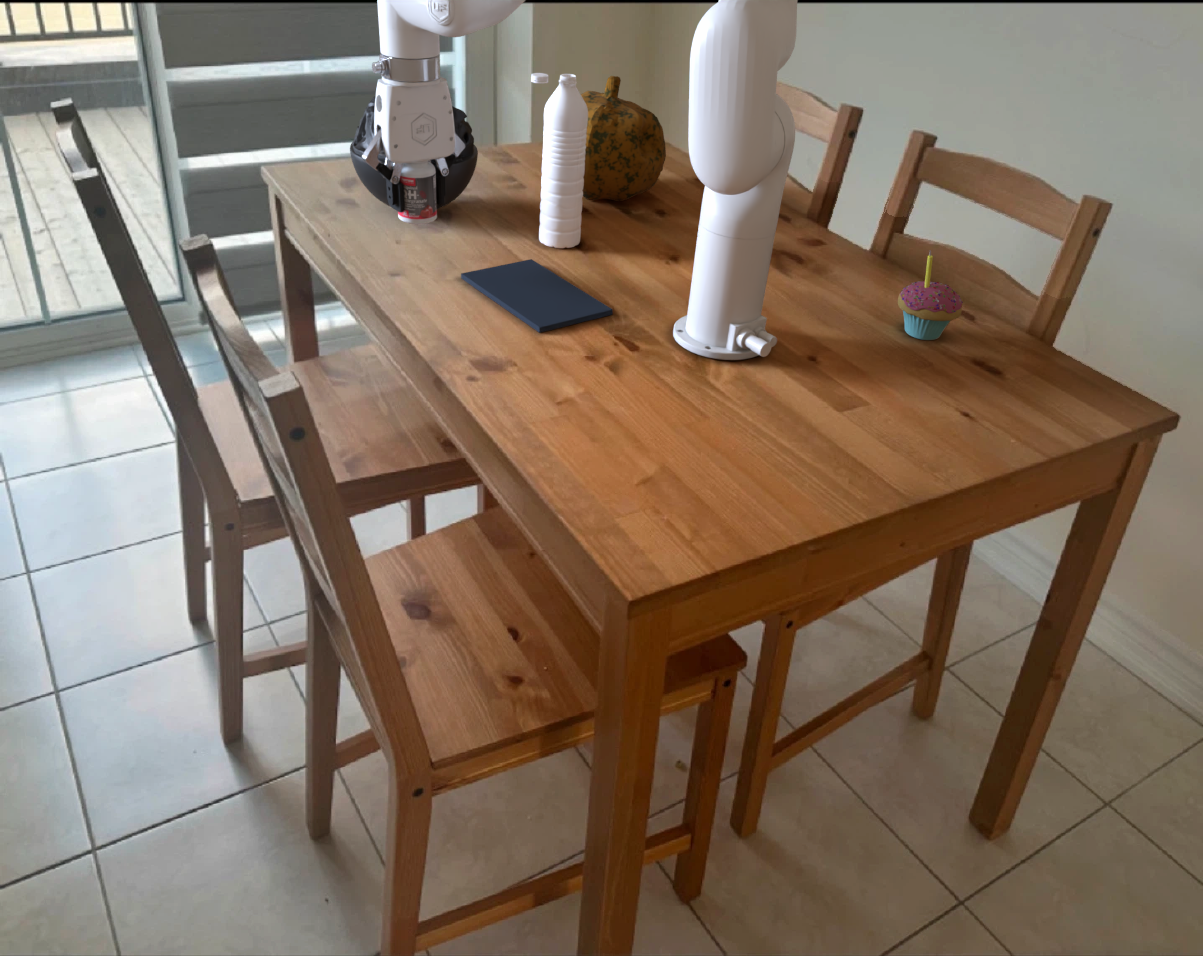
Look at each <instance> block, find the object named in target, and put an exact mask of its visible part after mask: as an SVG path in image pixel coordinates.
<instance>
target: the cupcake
mask: <svg viewBox="0 0 1203 956" xmlns="http://www.w3.org/2000/svg"><path fill="white" fill-rule="evenodd" d="M928 252H929V254H928V255H927V259H926V268H925V277H924V280H922V281H915V282H911V283H910V284H909V285H906V286H905V287H902V288H903V289H902V290H901V291H900V292H899V295H898V298H897V304H898V305H897V306H898V308H899V309H900V310H902V312H903V322H904V323H903V324H904V332H905V333H906V334H907V335H909V336H910V337H912V338H915V339H917V340H921V341H922V340H923V341H935V340H938V339H939V338H940V336H941V335H942V333H943V332H944V330H945V329H946V328H947V326H948V325H949V323H950V322H951V321H954V320H957V319H959V318H960V317H961V315H962V310H963V303H964V302H963V300H962V298H961V297H960V295H959V294H958V292H956V291H955V290H954V288H952V287H951V286H949V284H944V283H942V282H939V281H931V277H932V268H933V259H934V256H933V255H932V250H929V251H928Z"/></svg>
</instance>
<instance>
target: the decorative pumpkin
mask: <svg viewBox="0 0 1203 956" xmlns="http://www.w3.org/2000/svg"><path fill="white" fill-rule="evenodd" d="M621 82H622V80H621V77H620V76H617V75H616V76H614V75H610V76H609V77H608V78H607V79H606V83H605V88H604V92H599V91H596V90H586V91H584V92H583V93H580V94H581V96H582V98H583V99H584V101H585V103H586V105H587V109H588V123H587V133H586V134H587V137H586V144H585V145H586V149H585V151H586V153H585V172H584V177H583V178H584V187H583V190H582V191H583V198H585V199H586V200H587V201H597V200H611V201H615V202H623V201H626V200H629V199H630V198H633V197H635V196H637V195H640V194H643V193H645V192H647V191H649V190H650V189H652V188H653V187H654V186H655V185H656V184H657V182H658V180H659V178H660V175H661V173H662V172H663V170H664V164H665V162H666V157H667V149H666V140H665V135H664V134H665V133H664V129H663V126H662V124H661V122H660V120H659V118H658V117H657V116H656V115H655V113H653V112H652V111H650V110H648V109H646V108H644V107H642V106H641V105H639V104H637V103H636V102H633V101H630V100H625V99H622V98H619V92H620V86H621Z"/></svg>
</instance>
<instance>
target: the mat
mask: <svg viewBox="0 0 1203 956" xmlns="http://www.w3.org/2000/svg"><path fill="white" fill-rule="evenodd" d="M460 279H461V280H462V281H464V282H466V283H467V284H468V285H470V286H471V287H472V288H474V289H476V290H477V291H479V293H482V294H483V295H484V296H486V297H487V298H488V299H490V300H491V301H492V302H494V303H496V304H497V305H498V306H500V307H502V308H503V309H504V310H505V311H507V312H509V313H510V314H512V315H513V316H514V317H516V318H517V319H518V320H520V321H522V322H523V323H524V324H526V325H528V326H529V327H530V328H532V329H533V330H534V331H536V332H538V333H539V334H541V333H544V332H545V333H546V332H548V331H552V330H557V329H560V328H561V329H562V328H565V327H569V326H573V325H576V324H577V325H578V324H581V323H585V322H589V321H593V320H597V319H600V318H605V317H608V316H612V315H613V314H614V313H613V312H614V309H613V308H612V307H609V305H607V304H605V303H603V302H601V301H600V300H598V299H597V298H595V297H593V296H592V295H590V294H589V293H587V292H585V291H584V290H582V289H580V288H579V287H577V286H576V285H574V284H572V283H571V282H569V281H567V280H566V279H564V278H562V277H561V276H559V275H558V274H556V273H555V272H553V271H551V270H550V269H548V268H546V267H545V266H543V265H542V264H540V263H539V262H537V261H535V260H534V259H532V258H530V259H526V260H520V261H515V262H511V263H505V264H501V265H496V266H491V267H486V268H481V269H476V270H471V271H467V272H462V273H460Z"/></svg>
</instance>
